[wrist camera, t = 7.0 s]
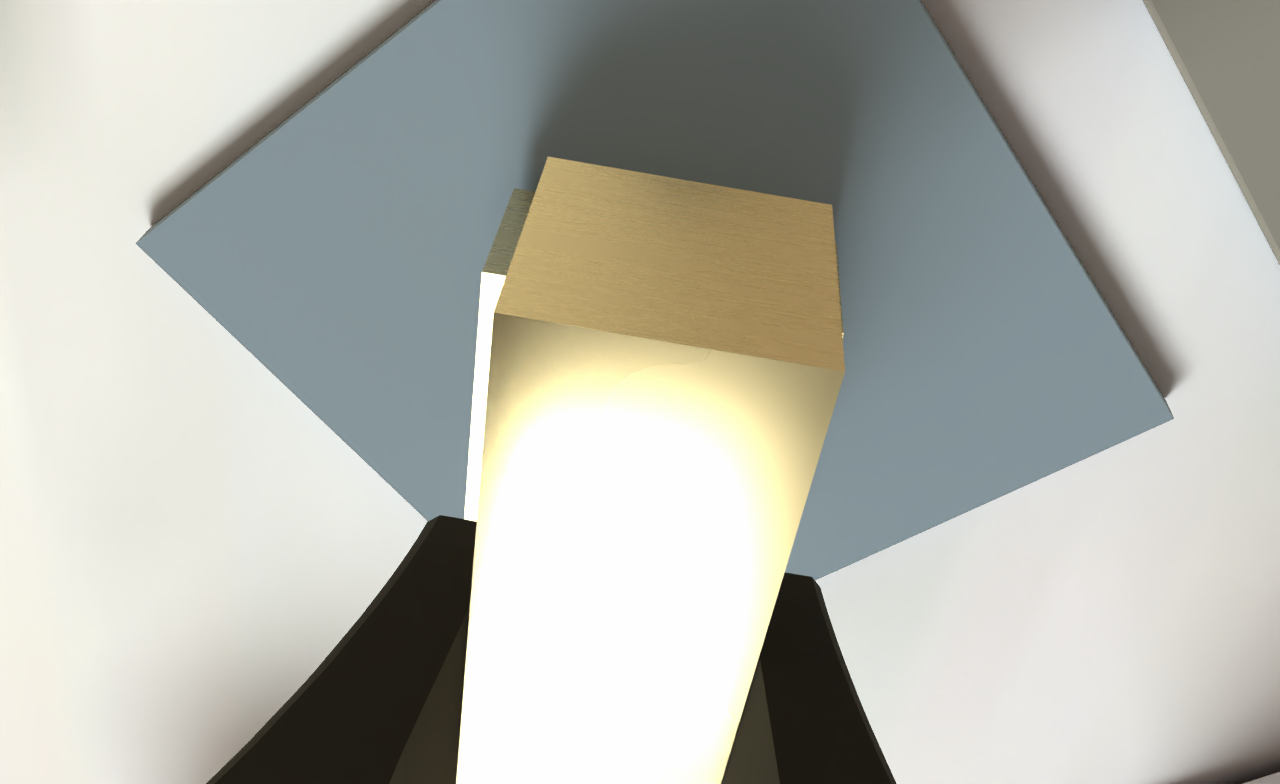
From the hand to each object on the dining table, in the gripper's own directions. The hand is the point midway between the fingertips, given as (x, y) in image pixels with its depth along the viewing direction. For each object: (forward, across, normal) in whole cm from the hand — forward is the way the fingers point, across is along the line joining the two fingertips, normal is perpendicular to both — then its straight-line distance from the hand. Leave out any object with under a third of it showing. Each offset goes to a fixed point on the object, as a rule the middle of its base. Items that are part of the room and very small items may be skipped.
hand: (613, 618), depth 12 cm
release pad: (+6, 0, 0) cm, 6 cm away
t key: (+5, 0, 0) cm, 5 cm away
